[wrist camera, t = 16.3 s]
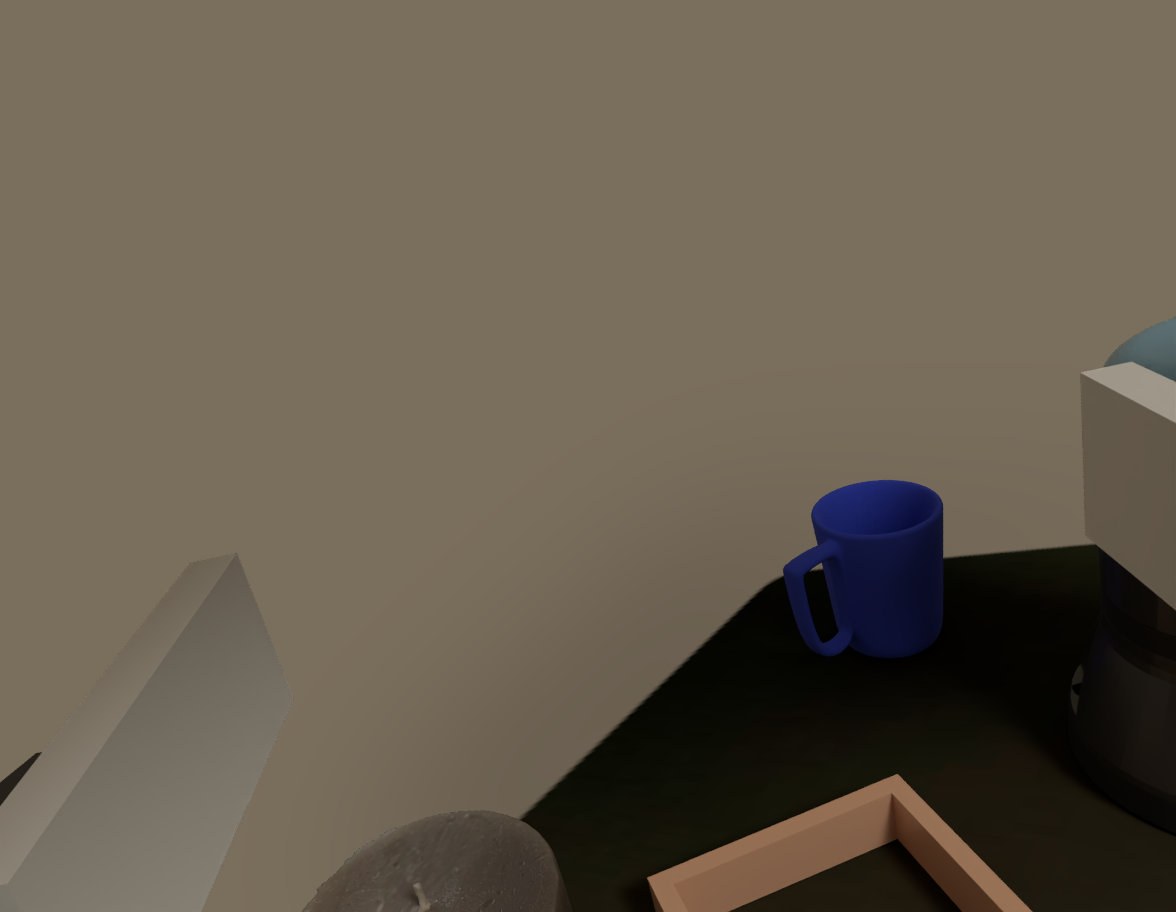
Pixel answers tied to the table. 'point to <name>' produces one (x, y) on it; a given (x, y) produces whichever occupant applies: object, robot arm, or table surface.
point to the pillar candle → (449, 869)
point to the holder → (834, 855)
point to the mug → (875, 569)
